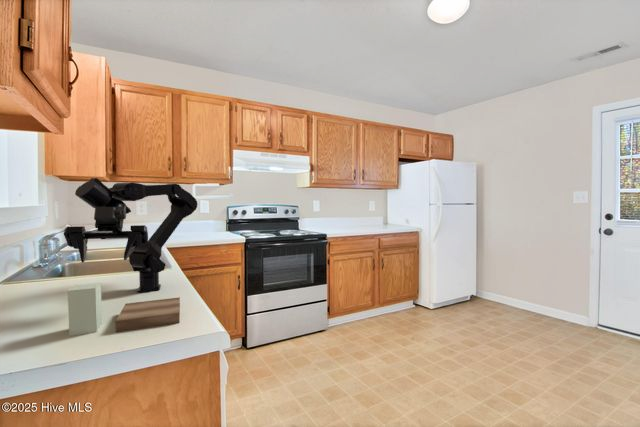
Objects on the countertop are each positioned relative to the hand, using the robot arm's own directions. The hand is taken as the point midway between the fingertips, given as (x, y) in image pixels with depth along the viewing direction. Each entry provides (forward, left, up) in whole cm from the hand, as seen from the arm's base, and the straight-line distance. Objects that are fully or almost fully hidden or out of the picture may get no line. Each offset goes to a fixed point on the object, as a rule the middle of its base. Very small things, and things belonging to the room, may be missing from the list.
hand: (104, 260), depth 80 cm
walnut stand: (+8, +11, -14) cm, 20 cm away
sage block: (+10, -2, -14) cm, 17 cm away
